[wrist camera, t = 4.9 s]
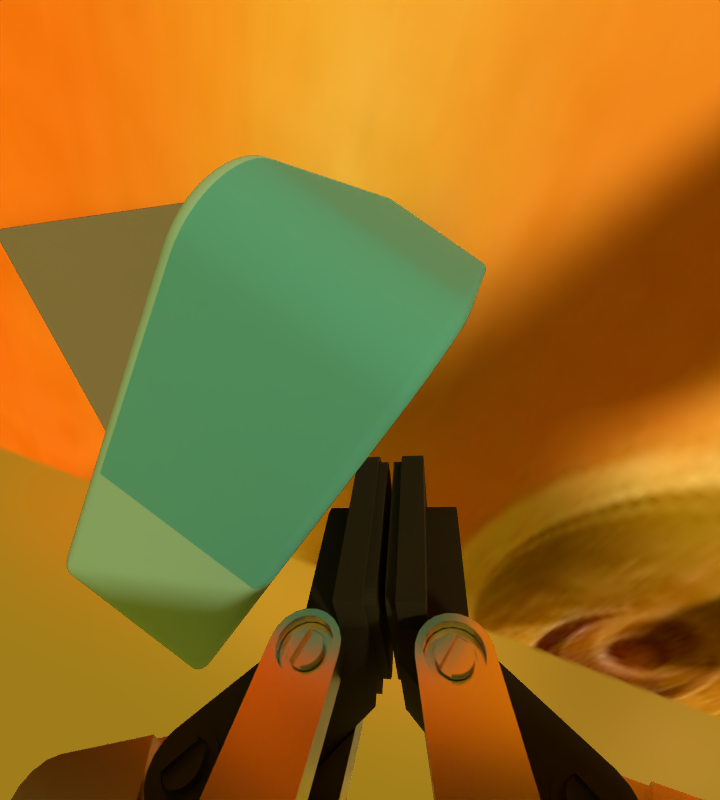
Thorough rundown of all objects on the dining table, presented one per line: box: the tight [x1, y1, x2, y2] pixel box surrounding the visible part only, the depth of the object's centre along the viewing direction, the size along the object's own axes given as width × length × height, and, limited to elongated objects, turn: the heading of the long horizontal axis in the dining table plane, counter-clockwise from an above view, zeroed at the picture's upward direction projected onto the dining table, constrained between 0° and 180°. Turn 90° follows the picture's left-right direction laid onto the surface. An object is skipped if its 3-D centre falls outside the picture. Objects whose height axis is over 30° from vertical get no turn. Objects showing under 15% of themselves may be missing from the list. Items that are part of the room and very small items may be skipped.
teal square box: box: [67, 155, 486, 669], centre depth 13 cm, size 12×4×12 cm, turn 150°
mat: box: [0, 203, 184, 431], centre depth 21 cm, size 12×14×1 cm
